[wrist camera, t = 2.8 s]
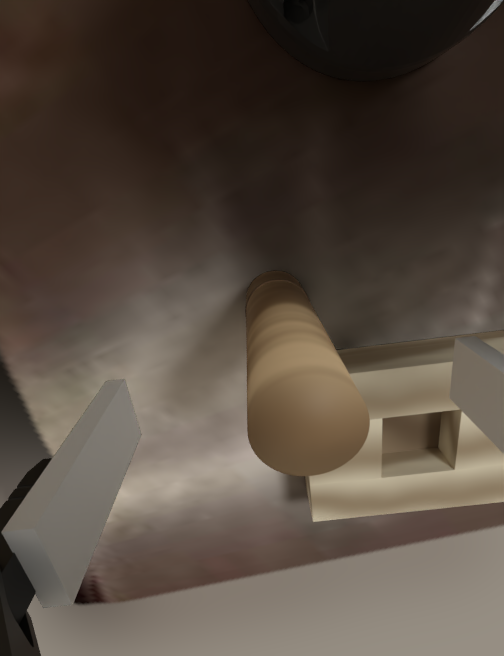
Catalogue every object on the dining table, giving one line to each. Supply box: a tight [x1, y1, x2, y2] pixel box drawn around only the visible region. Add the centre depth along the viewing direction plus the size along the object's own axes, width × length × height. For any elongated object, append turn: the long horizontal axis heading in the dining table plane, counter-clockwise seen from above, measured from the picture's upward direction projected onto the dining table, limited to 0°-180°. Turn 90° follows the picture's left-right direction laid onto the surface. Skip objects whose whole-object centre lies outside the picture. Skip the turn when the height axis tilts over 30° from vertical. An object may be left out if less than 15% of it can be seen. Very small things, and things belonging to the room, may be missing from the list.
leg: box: [245, 271, 370, 476], centre depth 18 cm, size 4×4×14 cm
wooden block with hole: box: [305, 330, 504, 522], centre depth 27 cm, size 13×16×4 cm
